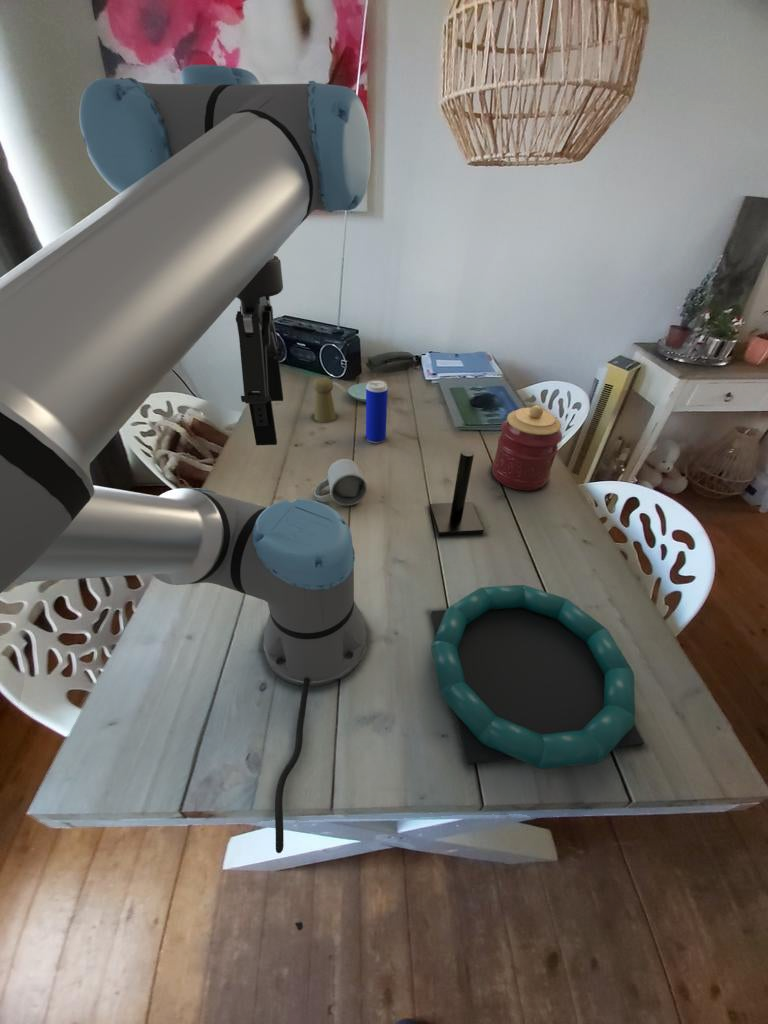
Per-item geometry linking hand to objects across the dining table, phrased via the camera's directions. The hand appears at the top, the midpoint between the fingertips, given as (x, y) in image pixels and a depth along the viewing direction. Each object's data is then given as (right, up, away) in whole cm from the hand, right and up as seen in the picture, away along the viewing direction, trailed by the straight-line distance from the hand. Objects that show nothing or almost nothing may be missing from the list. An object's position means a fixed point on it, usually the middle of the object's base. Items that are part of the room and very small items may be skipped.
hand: (271, 420), depth 65 cm
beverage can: (+15, +5, +50) cm, 52 cm away
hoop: (+37, -35, -2) cm, 51 cm away
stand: (+31, -15, +25) cm, 43 cm away
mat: (+37, -37, -1) cm, 52 cm away
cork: (0, +13, +58) cm, 60 cm away
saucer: (+12, +21, +69) cm, 73 cm away
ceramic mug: (+7, -10, +30) cm, 33 cm away
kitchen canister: (+48, -5, +39) cm, 62 cm away
